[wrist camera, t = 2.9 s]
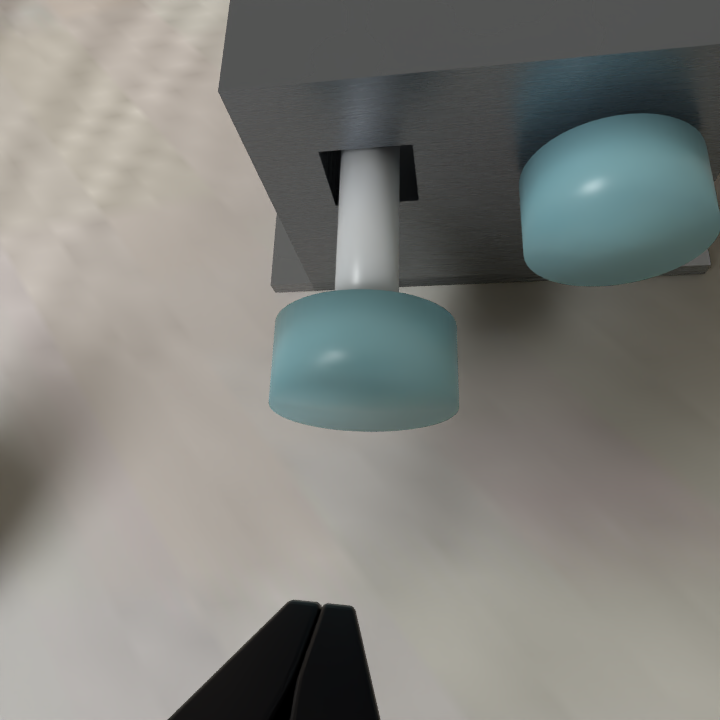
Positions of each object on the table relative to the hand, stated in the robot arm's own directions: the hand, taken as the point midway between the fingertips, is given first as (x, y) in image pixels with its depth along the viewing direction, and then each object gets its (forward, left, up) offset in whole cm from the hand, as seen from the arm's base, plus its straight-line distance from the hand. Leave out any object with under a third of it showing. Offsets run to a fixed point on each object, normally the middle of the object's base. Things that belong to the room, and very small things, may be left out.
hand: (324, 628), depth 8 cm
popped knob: (+6, +6, -8) cm, 11 cm away
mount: (+12, +8, -12) cm, 19 cm away
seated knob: (+13, +5, -8) cm, 16 cm away
